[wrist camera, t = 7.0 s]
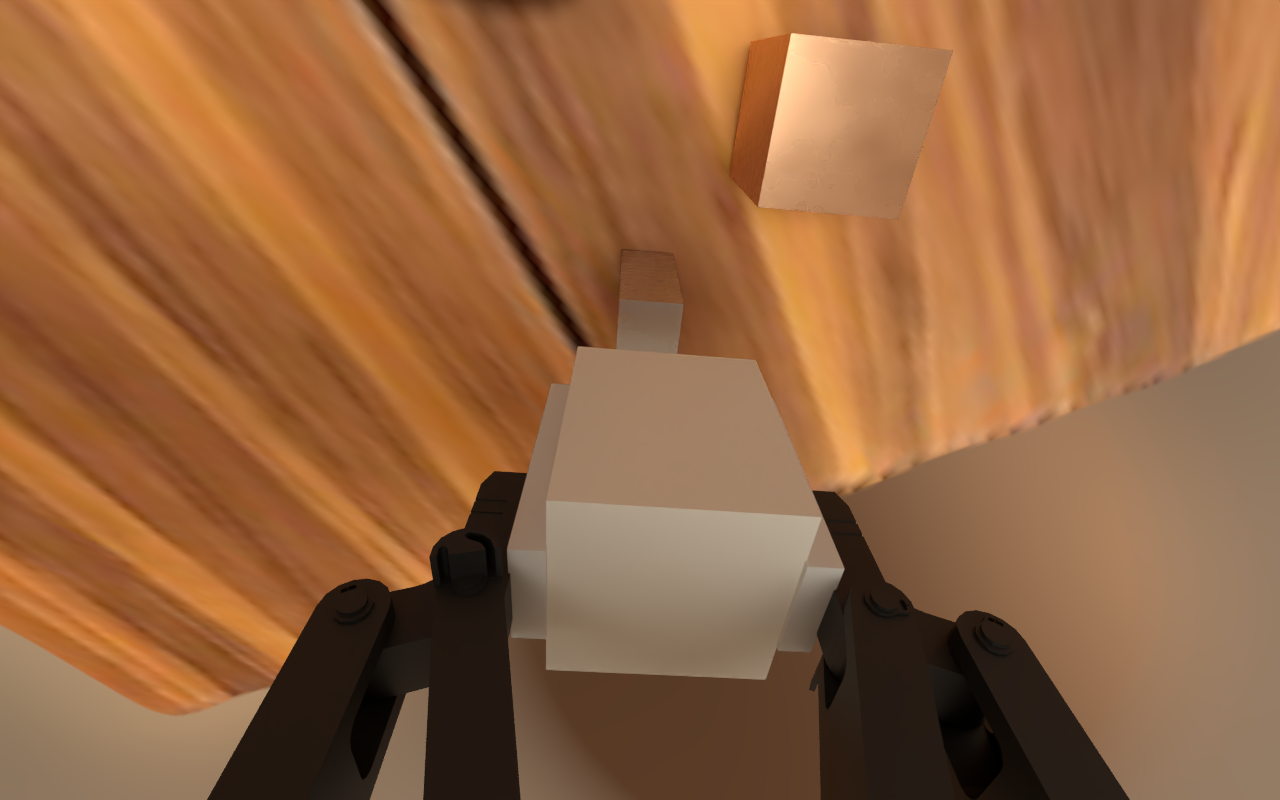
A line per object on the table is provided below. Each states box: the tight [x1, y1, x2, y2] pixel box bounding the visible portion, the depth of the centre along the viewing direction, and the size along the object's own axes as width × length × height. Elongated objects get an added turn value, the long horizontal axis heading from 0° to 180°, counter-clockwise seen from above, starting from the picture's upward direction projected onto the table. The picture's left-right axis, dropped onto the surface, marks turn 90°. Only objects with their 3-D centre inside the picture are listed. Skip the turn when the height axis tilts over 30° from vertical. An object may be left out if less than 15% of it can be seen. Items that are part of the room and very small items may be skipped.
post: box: [616, 249, 684, 354], centre depth 26 cm, size 3×3×7 cm
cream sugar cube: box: [546, 346, 822, 679], centre depth 14 cm, size 5×5×7 cm
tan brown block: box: [730, 33, 953, 219], centre depth 22 cm, size 5×5×8 cm
